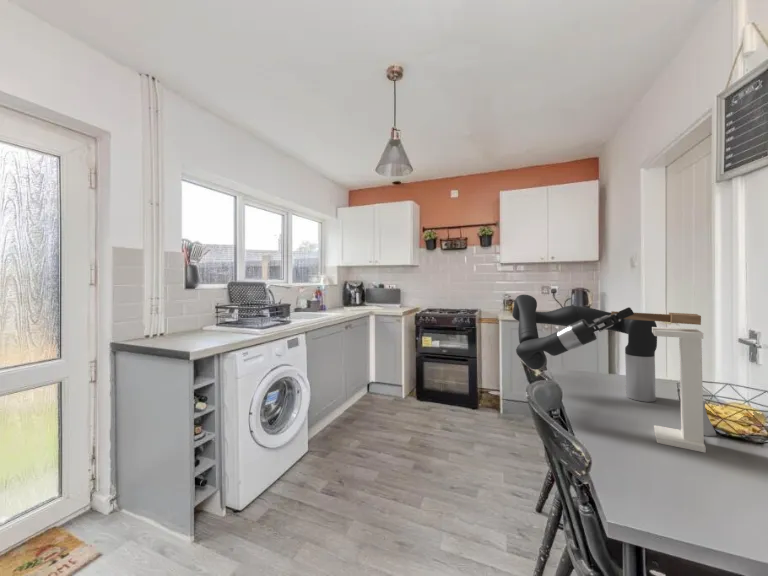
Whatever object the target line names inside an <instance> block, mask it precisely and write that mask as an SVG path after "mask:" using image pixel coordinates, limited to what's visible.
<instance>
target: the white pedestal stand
mask: <svg viewBox="0 0 768 576" xmlns="http://www.w3.org/2000/svg"><path fill="white" fill-rule="evenodd" d="M652 332H653V334H654V336H657V337H665V338H666V337H667V338H678V339H679V340H678V341H679V342H678V343H679V344H678V345H679V389H680V392H679V393H680V429H678V428H672V427H666V426H663V425H662V426H661V425H655V424H653V431H654V435H655V440H656V443H657V444H662V445H666V446H672V447H676V448H681V449H686V450H691V451H696V452H701V453H704V454H705V453H706V452H707V451H706V450H707V449H706V445H705V442H704V438H705V437H704V436H705V435H704V433H703V399H704V397H703V389H704V387H703V351H702V350H703V348H702V342H703V341H702V339H704V333H703V332H702V331H701V330H699V329H697V328H691V327H690V328H688V327H686V328H685V327H683V328H682V327H661V326H657V327H652Z"/></svg>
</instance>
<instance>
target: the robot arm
mask: <svg viewBox="0 0 768 576" xmlns="http://www.w3.org/2000/svg"><path fill="white" fill-rule="evenodd" d="M513 303H514V304H513V308H512V313H511V314H512V318H513V319H514V320H516V321H518V329H517V330H518V334H517V335H518V342H519V344H518V345H517V347H516V349H515V352H516V355H517V356H518V358H519V359H520V360H521V361H522V362H523V363H524V364H525V366H526V367H528V368H530V369H531V370H540V369H542V368H543V367H544V365H545V363H546V355H545V353H548V354H549V355H550V356H553V357H556V356H560V355H561V354H564V353H566V352H569V351H571V350H575V349H578V348H579V347H582V346H585V345H586V344H589V343H592V342H594V341H596V340H597V336H596V334H595V332H597V331H599V332H600V333H601V332H604V331H605V330H607V331H613V332H617V333H622V334H626V335H627V340H628V341H627V345H626V346H625V348H624V355H625V356H624V357H625V358H624V359H625V363H624V364H625V396H626V397H627V398H628V399H631V400H635V401H639V402H651V403H652V402H656V401H657V400H656V399H657V395H656V394H657V392H656V389H657V387H656V356H655V355H656V350H657V346H658V336H654V334H653V332H652V327H658V325H657V323H656V322H657V321H646V320H631V319H624V318H626V317H629V316H631V315H633V314H634V313H635V312H634V311H633V309H632V307H626V308H623V309H622V310H619V311H617V312H618V313H614V314H613V315H611V312H609V311H605V310H601V309H597V308H592V307H586V306H579V305H566V306H563V307H560V308H557V309H554V310H551V311H537V307H538V301H537V299H536V298H535V297H534V296H533V295H529V294H520V295H518V296H517V297H516V298H515V299H514V302H513ZM537 324H542V325H555V326H561V327H563V328H561V329H559V330H558V331H556V332H553V333H550V334H549V335H547V336H543V337H539V332H538V325H537Z"/></svg>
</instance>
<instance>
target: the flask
mask: <svg viewBox="0 0 768 576" xmlns="http://www.w3.org/2000/svg"><path fill="white" fill-rule="evenodd" d="M706 403H707V400H706V399H705V398H703V433H704V436H706V437H712V436H717V433H716V431H715V428H714V426H713V425H712V422H711V419H710V418H709V416H708V415H709V414H707V410H706Z"/></svg>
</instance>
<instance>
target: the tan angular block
mask: <svg viewBox="0 0 768 576" xmlns="http://www.w3.org/2000/svg"><path fill="white" fill-rule="evenodd" d="M618 312H619V311H613V310H612V311H611V312H610V313H611V315H613V314H614V313H618ZM633 313H634V314H633V315H631V316H629V317H626V318H624V319H631V320H646V321H655V322H663V323H664V322H665V323H671V324H684V325H696V326H698V325H699V326H701V325H702V316H701V315H699V314H697V313H687V312H686V313H684V312H668V314H667V313H666V314H664V313H653V312H652V313H651V312H650V313H649V312H648V313H647V312H633Z"/></svg>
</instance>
